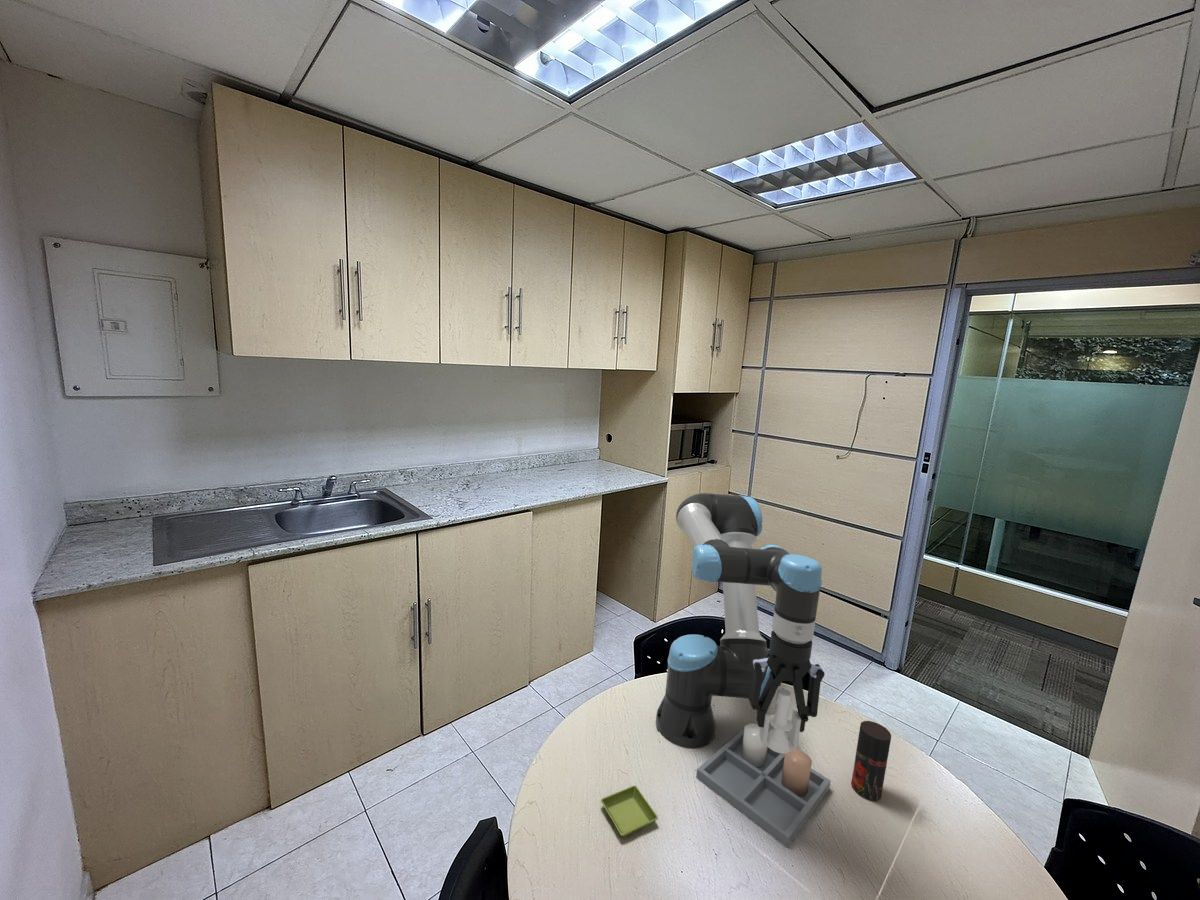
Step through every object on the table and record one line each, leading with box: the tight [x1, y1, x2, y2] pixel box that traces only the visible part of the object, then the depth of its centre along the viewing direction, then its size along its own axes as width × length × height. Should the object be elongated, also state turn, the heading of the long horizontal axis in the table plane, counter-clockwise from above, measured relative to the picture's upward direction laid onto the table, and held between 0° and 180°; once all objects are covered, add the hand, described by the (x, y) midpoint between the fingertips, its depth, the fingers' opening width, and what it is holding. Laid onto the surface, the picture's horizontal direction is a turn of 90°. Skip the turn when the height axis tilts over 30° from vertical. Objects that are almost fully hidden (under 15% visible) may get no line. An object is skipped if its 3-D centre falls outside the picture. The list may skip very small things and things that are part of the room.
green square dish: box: [600, 785, 659, 837], centre depth 95 cm, size 9×9×2 cm
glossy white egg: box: [741, 723, 767, 768], centre depth 111 cm, size 6×6×7 cm
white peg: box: [766, 687, 793, 754], centre depth 94 cm, size 5×5×12 cm
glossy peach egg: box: [781, 747, 813, 797], centre depth 104 cm, size 6×6×7 cm
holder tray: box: [695, 727, 832, 848], centre depth 105 cm, size 21×21×2 cm
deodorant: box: [850, 720, 892, 802], centre depth 104 cm, size 6×6×15 cm
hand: (777, 742), depth 95 cm, fingers closed on white peg, 5 cm apart
